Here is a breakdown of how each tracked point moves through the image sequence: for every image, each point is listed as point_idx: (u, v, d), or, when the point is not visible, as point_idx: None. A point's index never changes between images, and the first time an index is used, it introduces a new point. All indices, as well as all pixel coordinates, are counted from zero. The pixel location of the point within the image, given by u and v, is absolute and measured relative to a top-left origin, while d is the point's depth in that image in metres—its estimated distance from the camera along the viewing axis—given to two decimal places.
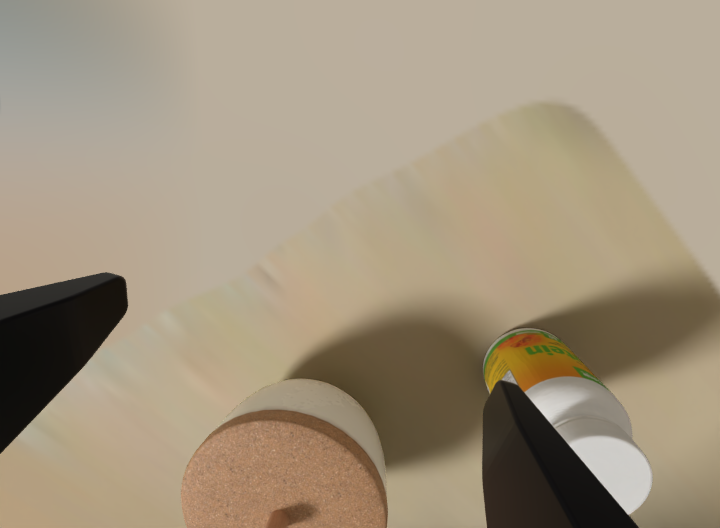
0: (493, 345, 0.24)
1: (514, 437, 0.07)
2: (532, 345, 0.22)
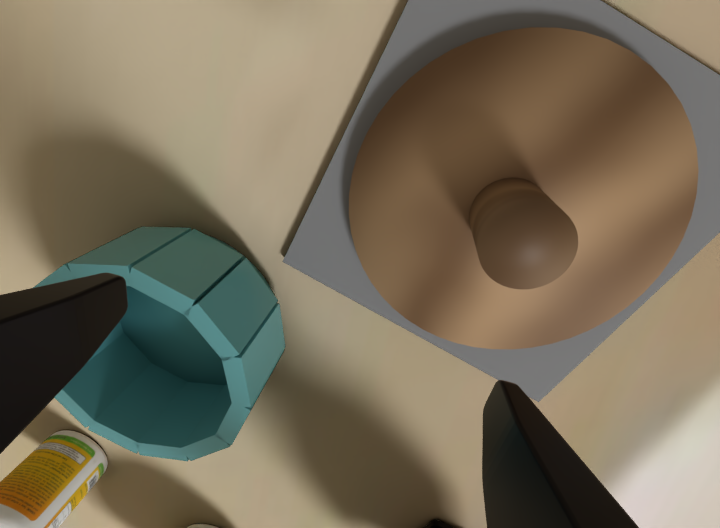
0: None
1: (514, 437, 0.07)
2: None
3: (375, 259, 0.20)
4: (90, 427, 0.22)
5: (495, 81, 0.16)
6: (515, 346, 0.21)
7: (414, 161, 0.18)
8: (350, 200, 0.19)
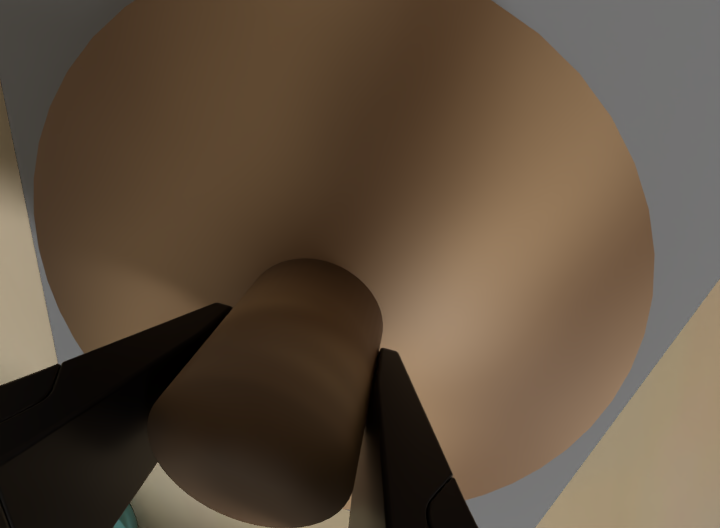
0: None
1: (373, 397, 0.07)
2: None
3: None
4: None
5: (168, 106, 0.08)
6: None
7: (127, 271, 0.10)
8: (81, 346, 0.12)
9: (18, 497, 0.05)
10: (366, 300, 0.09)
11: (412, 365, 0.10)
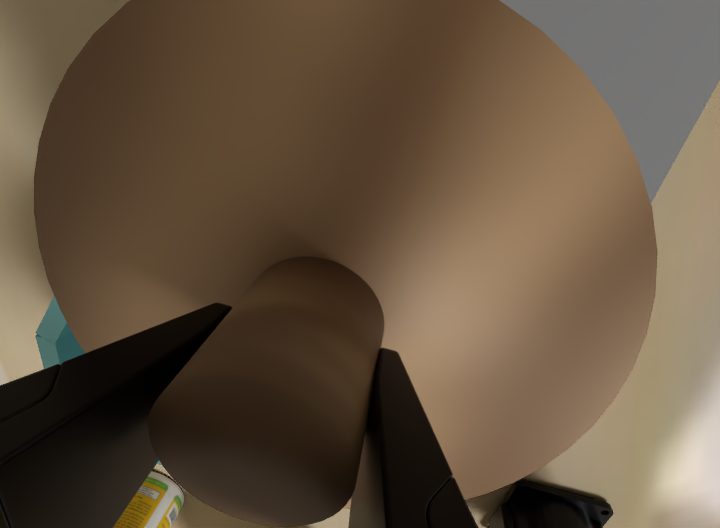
0: None
1: (373, 397, 0.07)
2: None
3: None
4: None
5: (168, 103, 0.08)
6: None
7: (128, 269, 0.10)
8: (82, 344, 0.12)
9: (18, 498, 0.05)
10: (368, 298, 0.09)
11: (413, 364, 0.10)
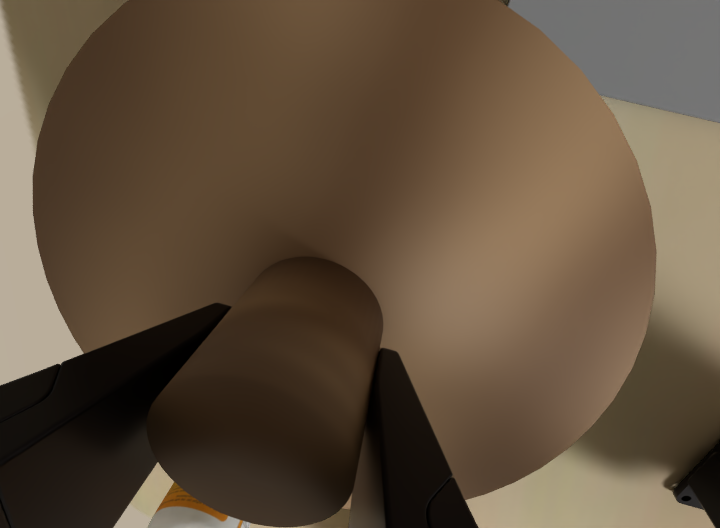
0: None
1: (373, 397, 0.07)
2: None
3: None
4: None
5: (167, 103, 0.08)
6: None
7: (126, 269, 0.10)
8: (81, 345, 0.12)
9: (19, 497, 0.05)
10: (366, 298, 0.09)
11: (412, 364, 0.10)
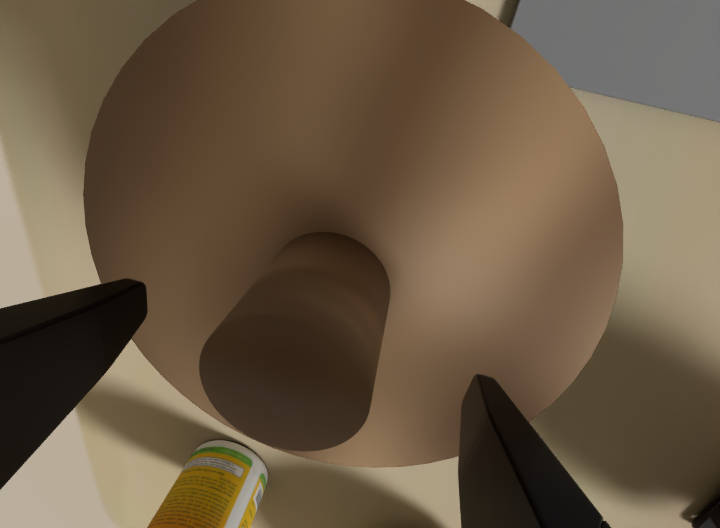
0: None
1: (487, 429, 0.07)
2: None
3: (191, 382, 0.14)
4: None
5: (207, 98, 0.09)
6: (431, 459, 0.14)
7: (164, 245, 0.12)
8: None
9: None
10: (376, 267, 0.10)
11: (415, 328, 0.11)
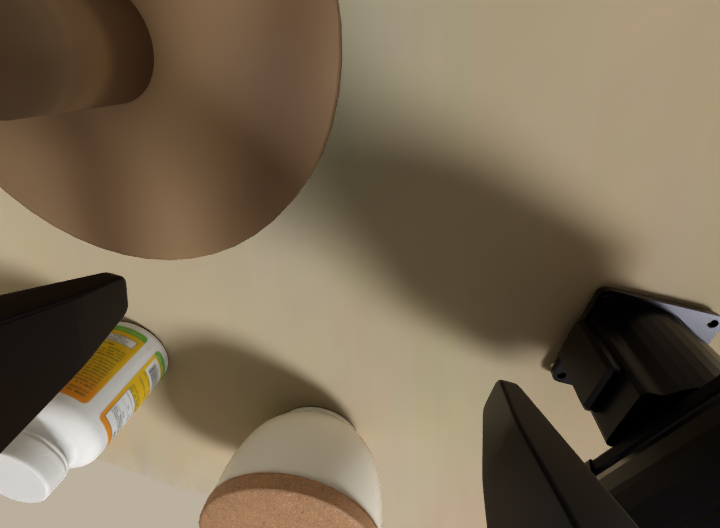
0: None
1: (514, 437, 0.07)
2: None
3: (11, 176, 0.15)
4: None
5: None
6: (235, 240, 0.15)
7: None
8: None
9: None
10: (122, 1, 0.11)
11: (183, 82, 0.12)
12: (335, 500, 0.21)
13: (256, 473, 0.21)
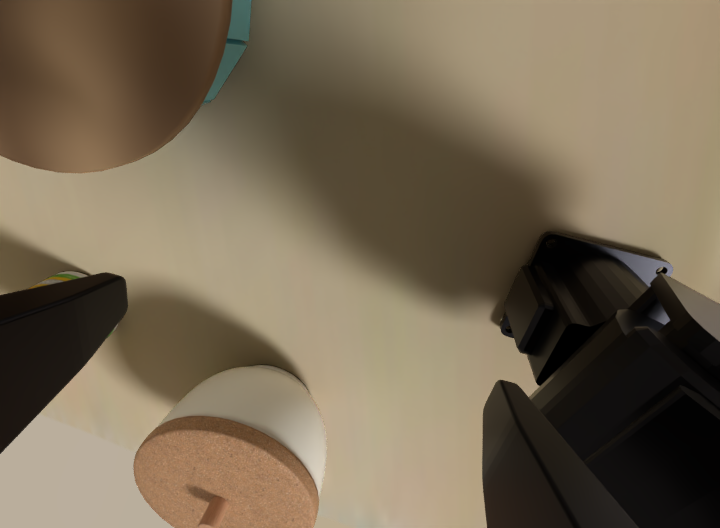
0: None
1: (514, 437, 0.07)
2: None
3: None
4: None
5: None
6: (142, 149, 0.14)
7: None
8: None
9: None
10: None
11: None
12: (265, 445, 0.20)
13: (188, 417, 0.21)
